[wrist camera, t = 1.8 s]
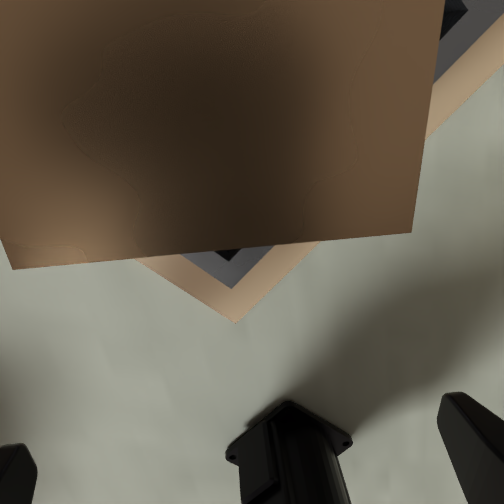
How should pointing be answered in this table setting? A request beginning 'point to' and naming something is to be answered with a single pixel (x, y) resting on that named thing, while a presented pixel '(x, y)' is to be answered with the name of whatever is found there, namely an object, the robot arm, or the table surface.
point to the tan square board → (289, 255)
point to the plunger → (208, 124)
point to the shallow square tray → (449, 51)
